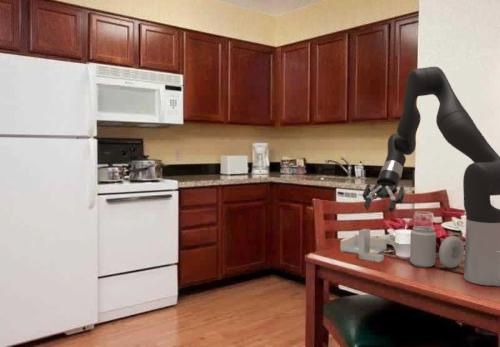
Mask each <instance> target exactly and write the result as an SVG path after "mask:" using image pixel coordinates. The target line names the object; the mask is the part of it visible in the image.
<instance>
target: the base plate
mask: <svg viewBox="0 0 500 347" xmlns="http://www.w3.org/2000/svg"><path fill="white" fill-rule="evenodd" d="M384 250H385V249H382V248H375V247H370V253H375V254H381V253H384V252H385V251H386V250H385V251H384ZM343 253H347V254H354V255H355V254H356V255H359V245H354V246H352V247H350V248H348V249H346V250H344V252H343Z"/></svg>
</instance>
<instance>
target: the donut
mask: <svg viewBox="0 0 500 347" xmlns="http://www.w3.org/2000/svg"><path fill="white" fill-rule="evenodd" d="M464 246H465V245H464V243H463V242H462V239H460V237H458V236H455V235H450V236H447V237H445V239H444V240H443V241H442V242H441V244H440V246H439V250H438V258H439V261H440V263H441V264H442V265H443V266H444V267H445V268H446V269H454V268H456V267H458V266H459V265H460V264H461V262H462V260H463V258H464V256H465V247H464Z"/></svg>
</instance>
